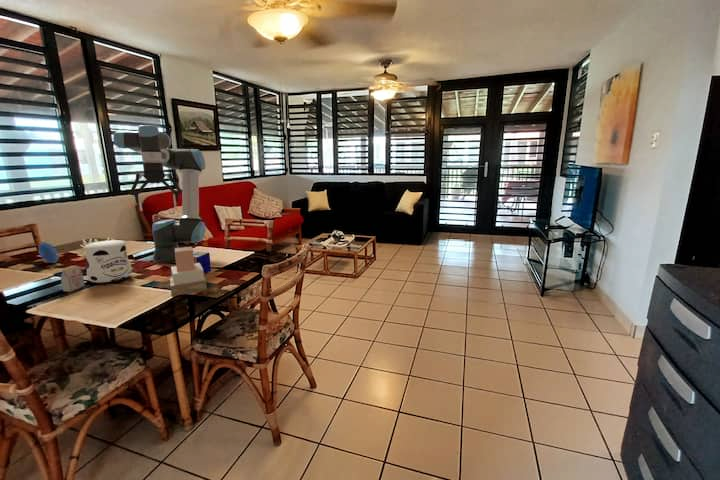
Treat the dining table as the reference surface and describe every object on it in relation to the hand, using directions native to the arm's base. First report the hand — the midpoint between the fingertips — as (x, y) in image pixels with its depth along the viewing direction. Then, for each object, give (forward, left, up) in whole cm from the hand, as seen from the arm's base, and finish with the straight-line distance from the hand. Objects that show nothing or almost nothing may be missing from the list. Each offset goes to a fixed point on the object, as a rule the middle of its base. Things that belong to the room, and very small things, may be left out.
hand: (158, 209), depth 153 cm
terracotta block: (+14, +8, -25) cm, 30 cm away
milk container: (-14, -24, -35) cm, 45 cm away
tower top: (+14, +8, -30) cm, 34 cm away
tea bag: (-8, -37, -35) cm, 52 cm away
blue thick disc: (-60, -58, -35) cm, 90 cm away
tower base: (+14, +8, -35) cm, 39 cm away
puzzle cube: (-7, +13, -35) cm, 38 cm away
